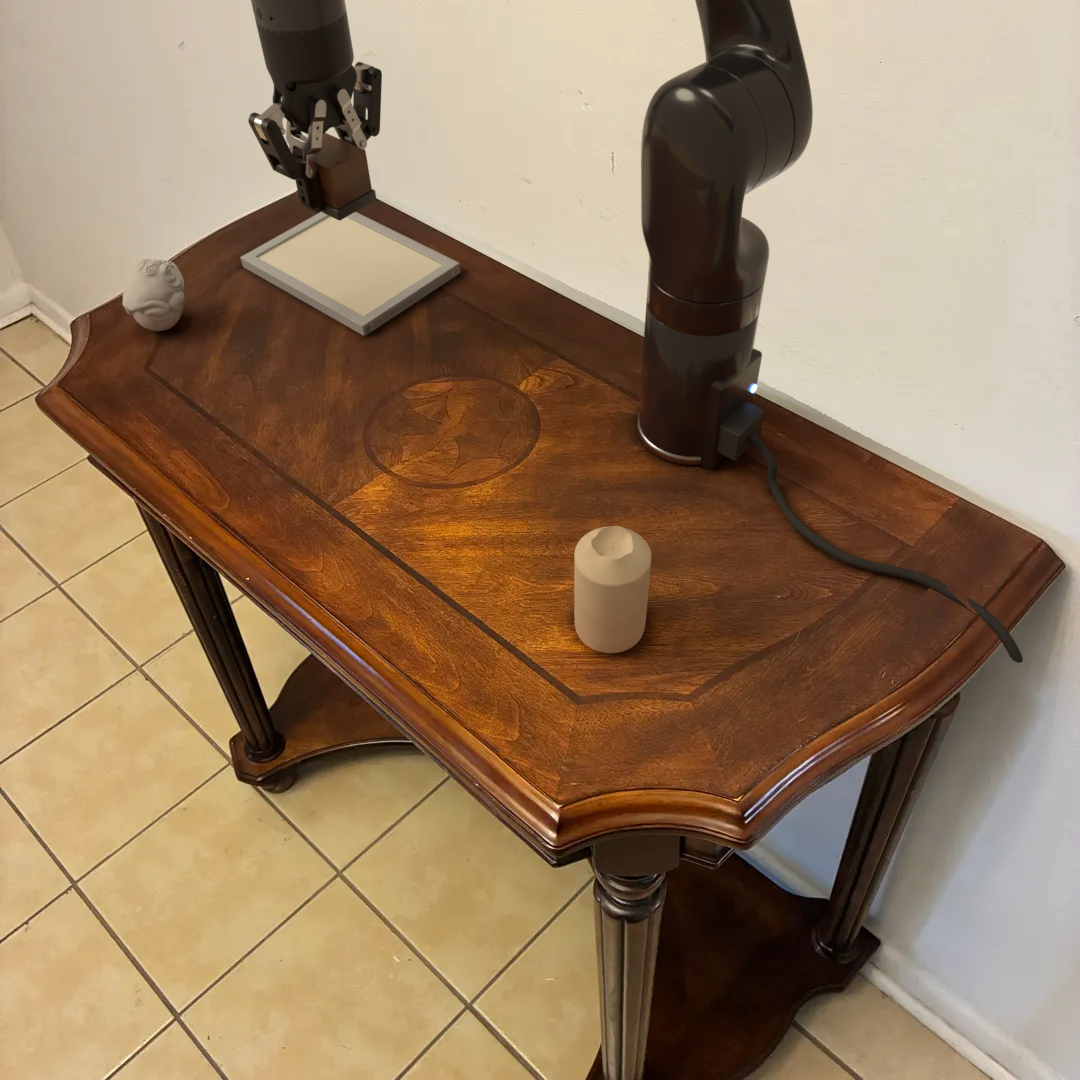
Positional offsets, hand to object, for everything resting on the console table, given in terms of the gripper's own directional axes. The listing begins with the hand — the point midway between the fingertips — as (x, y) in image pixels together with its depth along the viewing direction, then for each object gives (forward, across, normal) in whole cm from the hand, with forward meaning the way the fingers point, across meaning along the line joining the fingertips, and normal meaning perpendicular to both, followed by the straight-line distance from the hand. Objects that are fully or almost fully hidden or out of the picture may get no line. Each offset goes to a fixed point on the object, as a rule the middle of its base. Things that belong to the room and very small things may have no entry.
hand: (336, 196), depth 95 cm
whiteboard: (+13, +5, +6) cm, 16 cm away
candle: (+13, -16, -45) cm, 50 cm away
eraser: (0, 0, 0) cm, 0 cm away
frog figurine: (+14, -14, +15) cm, 24 cm away
